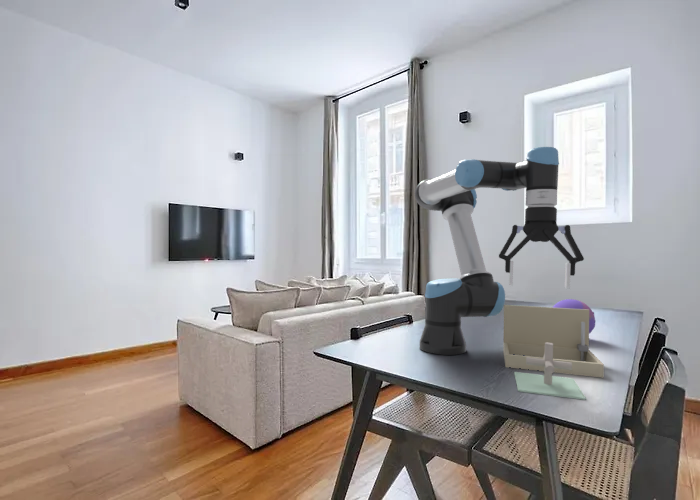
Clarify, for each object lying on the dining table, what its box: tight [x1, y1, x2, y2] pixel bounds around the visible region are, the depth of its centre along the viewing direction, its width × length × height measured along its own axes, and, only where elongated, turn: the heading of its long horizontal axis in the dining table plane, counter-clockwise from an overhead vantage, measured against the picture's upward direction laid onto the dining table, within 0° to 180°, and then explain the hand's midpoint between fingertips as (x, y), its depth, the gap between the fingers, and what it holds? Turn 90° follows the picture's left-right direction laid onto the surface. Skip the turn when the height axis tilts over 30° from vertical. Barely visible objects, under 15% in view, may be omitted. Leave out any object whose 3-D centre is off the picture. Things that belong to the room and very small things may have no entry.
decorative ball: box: [552, 298, 596, 335], centre depth 145 cm, size 15×15×15 cm
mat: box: [513, 371, 587, 401], centre depth 95 cm, size 14×14×1 cm
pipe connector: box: [526, 342, 572, 385], centre depth 95 cm, size 10×10×10 cm
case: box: [502, 304, 605, 379], centre depth 113 cm, size 24×17×16 cm
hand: (538, 286), depth 103 cm, fingers open, 13 cm apart
